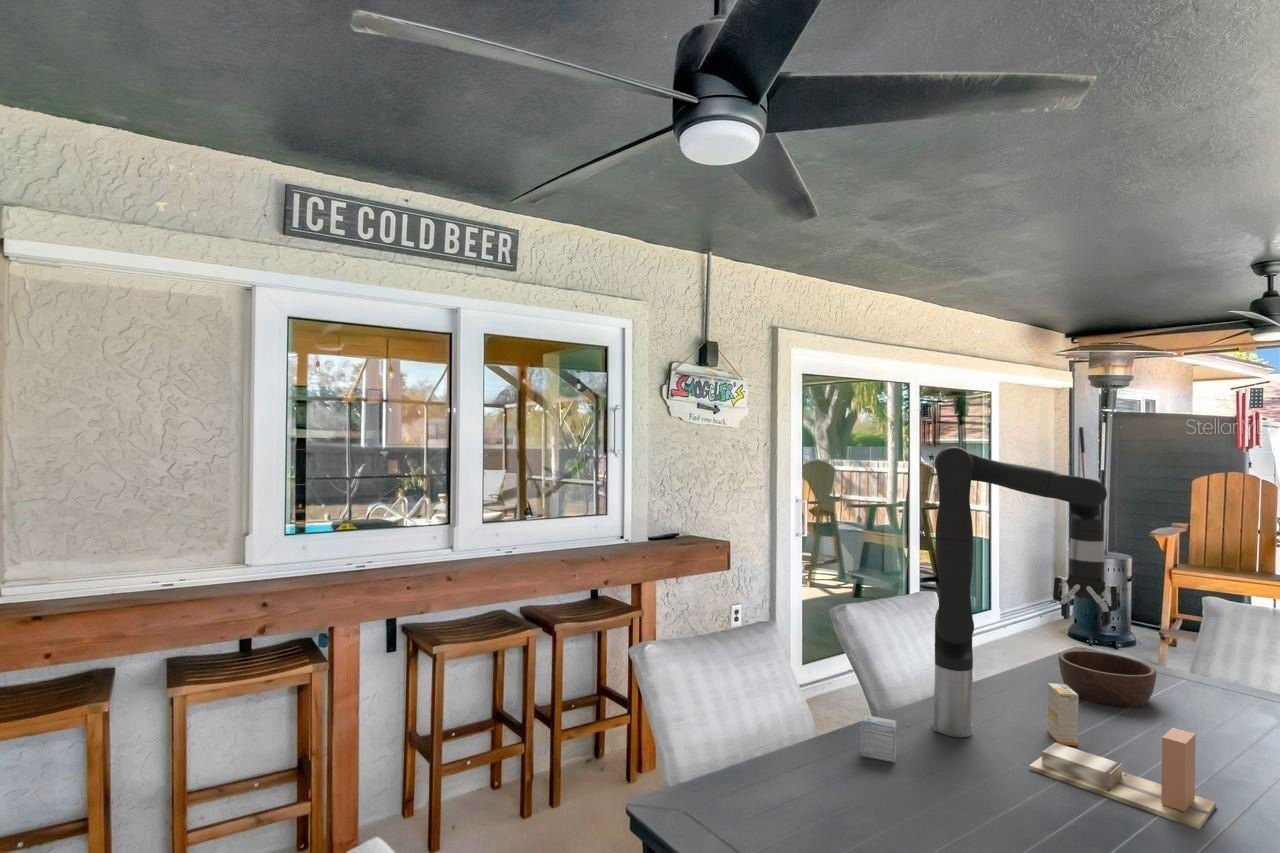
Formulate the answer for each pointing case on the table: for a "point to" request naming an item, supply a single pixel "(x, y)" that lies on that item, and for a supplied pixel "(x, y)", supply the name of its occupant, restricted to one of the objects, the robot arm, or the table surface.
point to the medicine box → (879, 738)
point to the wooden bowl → (1107, 678)
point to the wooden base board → (1115, 783)
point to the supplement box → (1062, 714)
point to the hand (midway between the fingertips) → (1085, 622)
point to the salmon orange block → (1178, 769)
